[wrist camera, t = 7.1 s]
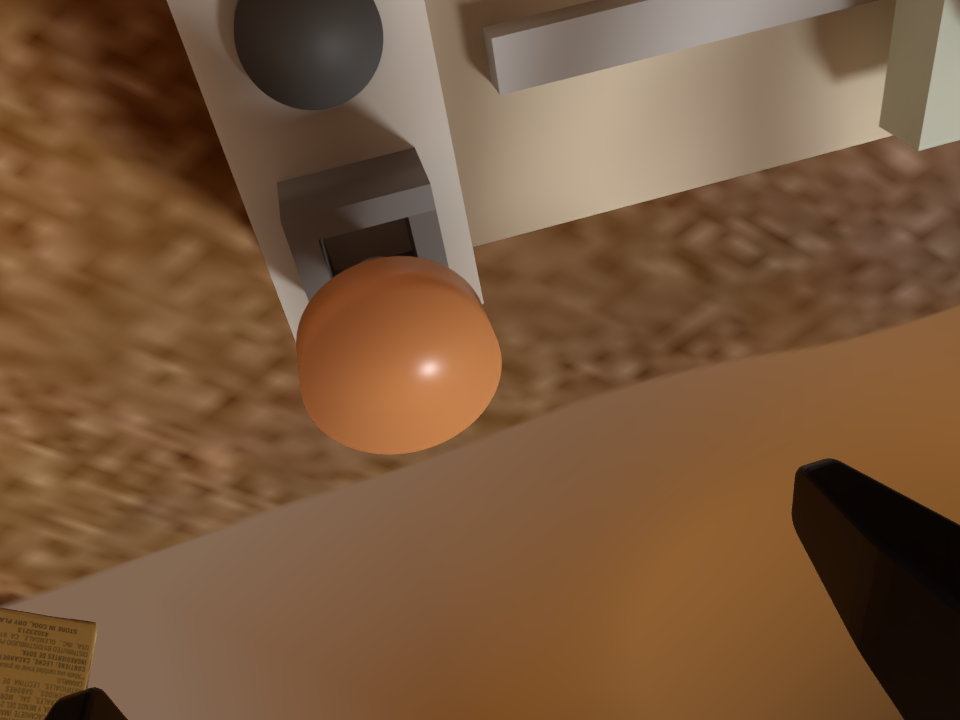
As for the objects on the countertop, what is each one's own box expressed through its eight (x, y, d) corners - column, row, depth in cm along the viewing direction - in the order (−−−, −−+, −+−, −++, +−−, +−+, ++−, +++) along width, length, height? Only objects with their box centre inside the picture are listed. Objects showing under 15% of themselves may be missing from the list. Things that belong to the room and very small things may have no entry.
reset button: (445, 182, 14) (485, 266, 12) (475, 327, 16) (514, 423, 14) (266, 229, 14) (272, 324, 12) (317, 369, 16) (332, 475, 13)
